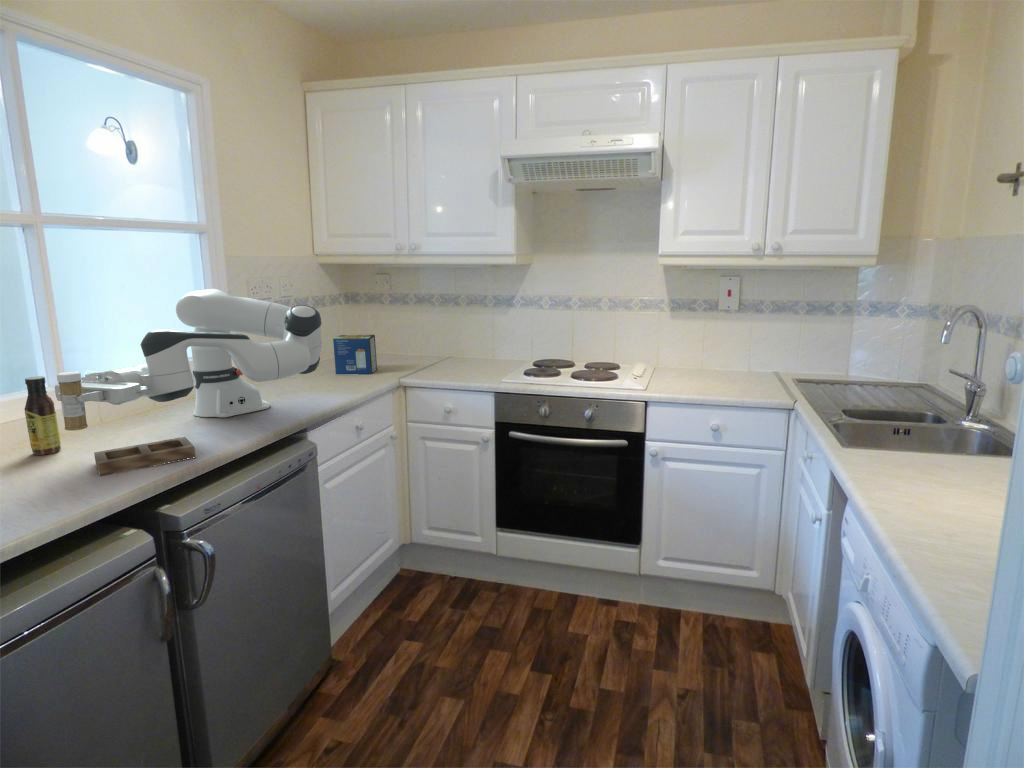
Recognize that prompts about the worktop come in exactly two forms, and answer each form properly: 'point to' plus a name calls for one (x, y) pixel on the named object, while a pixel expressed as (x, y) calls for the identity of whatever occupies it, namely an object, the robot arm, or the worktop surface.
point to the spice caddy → (143, 455)
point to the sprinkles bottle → (72, 400)
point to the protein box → (355, 354)
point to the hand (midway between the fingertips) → (68, 398)
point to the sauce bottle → (41, 418)
